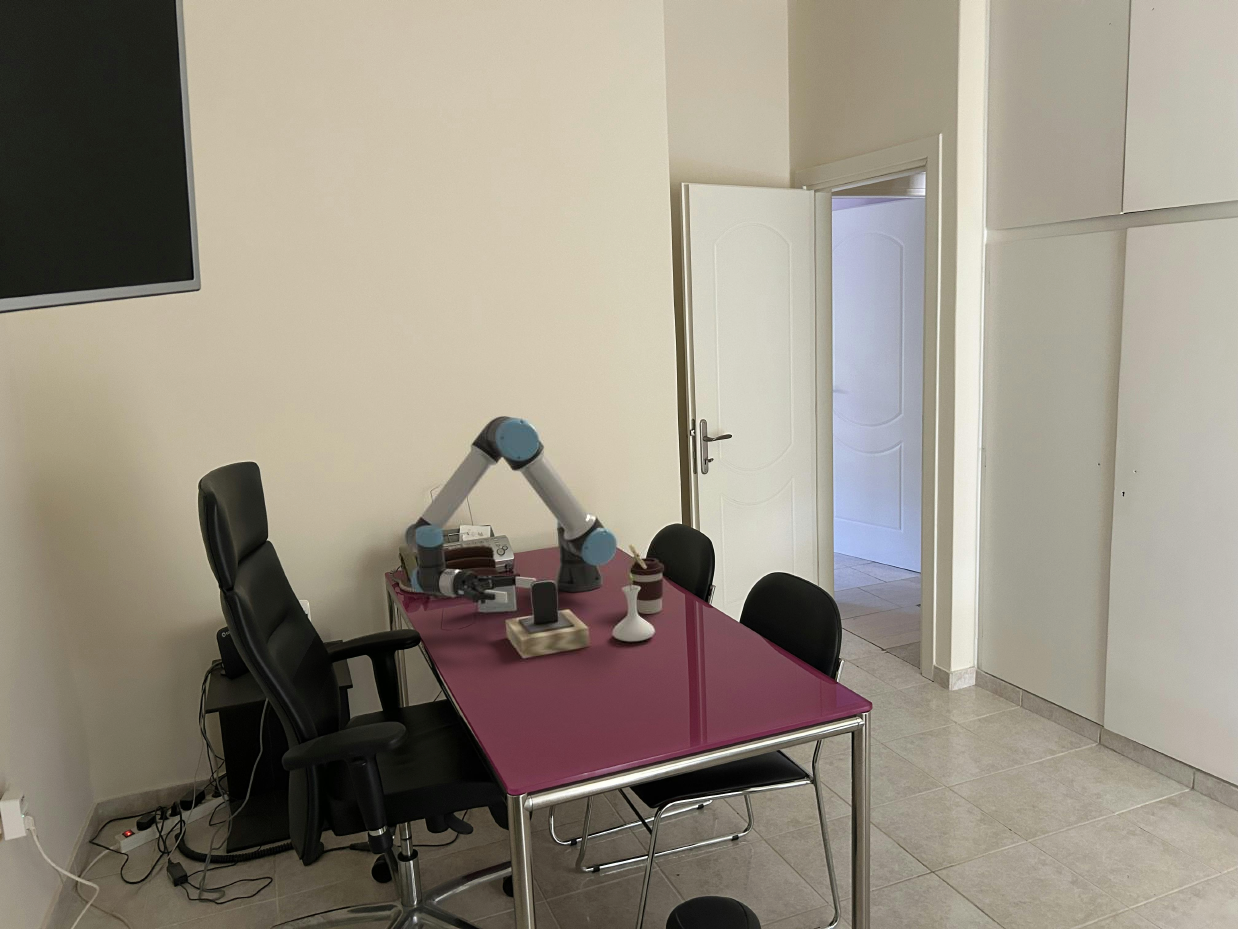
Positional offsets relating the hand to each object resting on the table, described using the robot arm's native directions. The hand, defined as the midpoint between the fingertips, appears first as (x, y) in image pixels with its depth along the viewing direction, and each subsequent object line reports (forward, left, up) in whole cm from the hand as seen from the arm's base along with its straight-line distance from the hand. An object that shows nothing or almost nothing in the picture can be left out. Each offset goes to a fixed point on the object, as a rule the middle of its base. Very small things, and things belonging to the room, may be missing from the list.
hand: (521, 590), depth 246 cm
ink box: (+1, -29, -14) cm, 32 cm away
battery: (-5, +5, -8) cm, 11 cm away
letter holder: (+5, -55, -14) cm, 57 cm away
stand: (-5, +5, -14) cm, 15 cm away
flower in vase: (-27, +13, -14) cm, 33 cm away
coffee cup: (-39, -6, -14) cm, 41 cm away
